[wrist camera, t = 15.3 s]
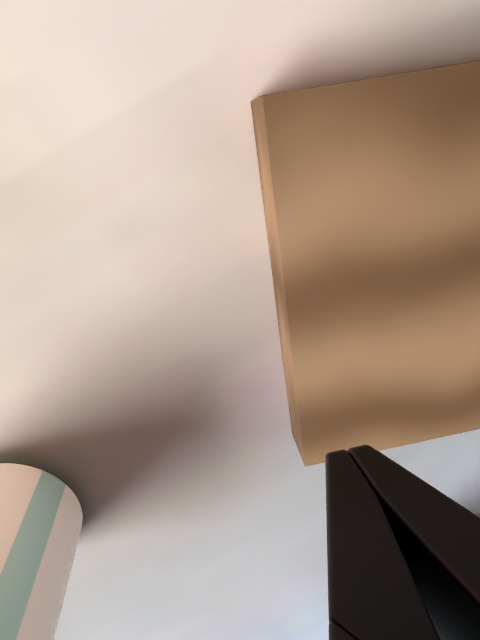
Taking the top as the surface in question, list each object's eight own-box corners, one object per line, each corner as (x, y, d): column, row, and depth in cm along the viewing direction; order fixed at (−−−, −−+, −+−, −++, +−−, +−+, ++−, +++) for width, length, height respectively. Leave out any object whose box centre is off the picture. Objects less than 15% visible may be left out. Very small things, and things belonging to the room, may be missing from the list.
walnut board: (504, 389, 24) (539, 416, 21) (292, 433, 23) (304, 466, 21) (545, 53, 17) (601, 41, 15) (250, 101, 16) (262, 95, 14)
